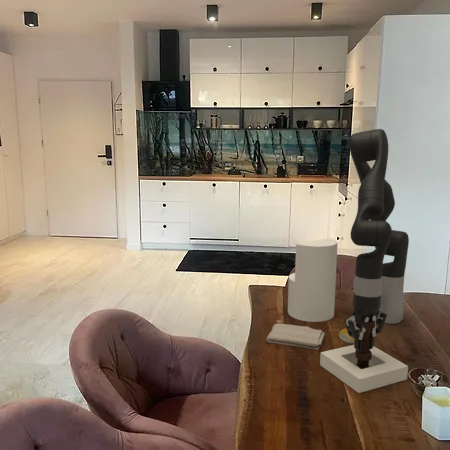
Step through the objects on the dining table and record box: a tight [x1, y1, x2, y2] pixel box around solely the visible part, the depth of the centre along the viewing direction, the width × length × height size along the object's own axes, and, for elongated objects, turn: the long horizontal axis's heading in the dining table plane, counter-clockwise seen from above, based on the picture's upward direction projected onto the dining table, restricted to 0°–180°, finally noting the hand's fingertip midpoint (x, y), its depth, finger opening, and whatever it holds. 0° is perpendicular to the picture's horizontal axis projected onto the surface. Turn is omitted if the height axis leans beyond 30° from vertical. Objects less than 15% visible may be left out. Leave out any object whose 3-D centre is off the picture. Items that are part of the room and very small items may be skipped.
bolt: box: [355, 321, 375, 369], centre depth 136 cm, size 6×5×15 cm
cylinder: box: [287, 237, 339, 323], centre depth 179 cm, size 17×17×28 cm
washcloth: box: [266, 323, 325, 351], centre depth 159 cm, size 12×18×3 cm, turn 72°
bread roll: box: [338, 327, 359, 345], centre depth 159 cm, size 8×9×4 cm
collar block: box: [319, 344, 409, 394], centre depth 137 cm, size 17×17×4 cm
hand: (363, 348), depth 136 cm, fingers closed on bolt, 3 cm apart
